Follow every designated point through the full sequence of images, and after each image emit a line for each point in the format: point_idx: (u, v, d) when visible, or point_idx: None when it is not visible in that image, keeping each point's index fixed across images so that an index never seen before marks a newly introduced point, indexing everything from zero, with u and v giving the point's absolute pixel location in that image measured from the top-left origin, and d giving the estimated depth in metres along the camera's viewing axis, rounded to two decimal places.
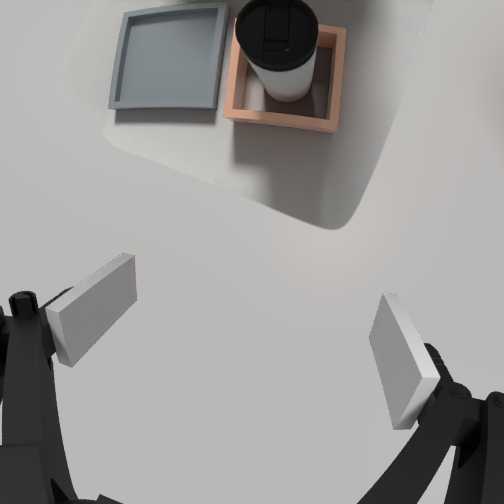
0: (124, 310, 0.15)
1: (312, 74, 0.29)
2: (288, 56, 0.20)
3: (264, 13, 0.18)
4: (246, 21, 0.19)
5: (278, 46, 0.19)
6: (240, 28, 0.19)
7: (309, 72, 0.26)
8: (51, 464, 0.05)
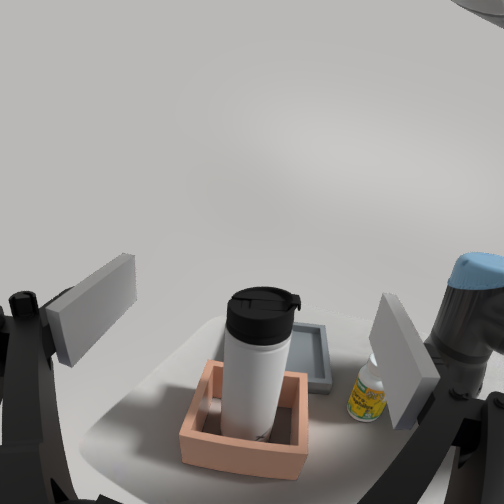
0: (124, 310, 0.15)
1: (241, 412, 0.29)
2: (234, 308, 0.27)
3: (277, 300, 0.29)
4: (269, 293, 0.30)
5: (244, 306, 0.28)
6: (262, 290, 0.31)
7: (234, 378, 0.28)
8: (52, 464, 0.05)
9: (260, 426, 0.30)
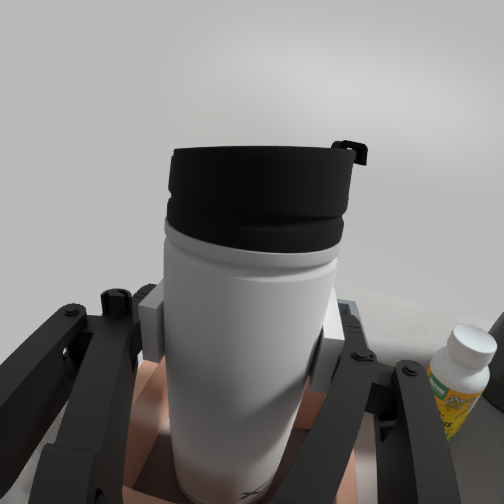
0: None
1: (205, 448, 0.11)
2: None
3: None
4: None
5: None
6: None
7: (183, 365, 0.10)
8: (104, 473, 0.05)
9: (250, 476, 0.12)
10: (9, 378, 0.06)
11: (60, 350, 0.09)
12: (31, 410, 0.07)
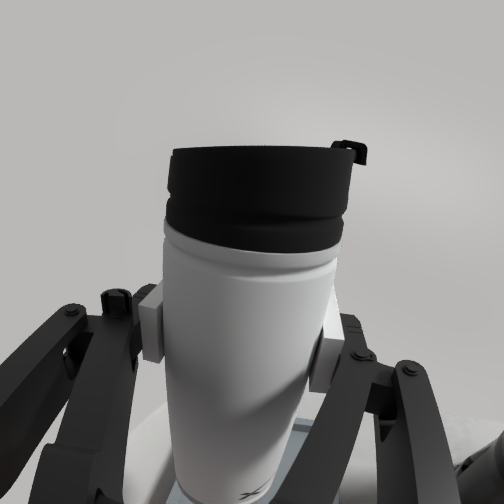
0: None
1: (205, 449, 0.11)
2: None
3: None
4: None
5: None
6: None
7: (182, 365, 0.10)
8: (104, 473, 0.05)
9: (250, 477, 0.12)
10: (9, 378, 0.06)
11: (60, 350, 0.09)
12: (31, 410, 0.07)
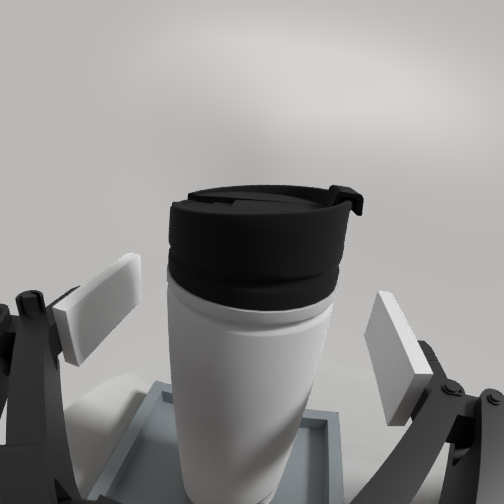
0: (129, 309, 0.16)
1: (211, 469, 0.12)
2: None
3: (298, 203, 0.12)
4: (278, 195, 0.13)
5: None
6: (262, 192, 0.13)
7: (190, 401, 0.11)
8: (56, 464, 0.05)
9: (254, 491, 0.13)
10: None
11: None
12: None
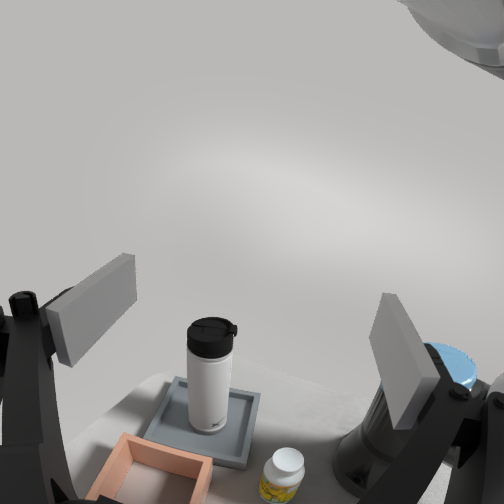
0: (124, 310, 0.15)
1: (199, 404, 0.41)
2: (191, 332, 0.40)
3: (222, 328, 0.41)
4: (218, 322, 0.42)
5: (199, 331, 0.40)
6: (214, 320, 0.43)
7: (193, 380, 0.40)
8: (51, 464, 0.05)
9: (214, 415, 0.42)
10: None
11: None
12: None
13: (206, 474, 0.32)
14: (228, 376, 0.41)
